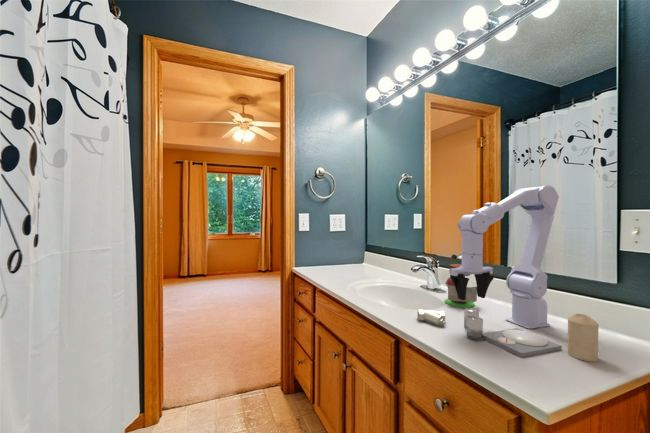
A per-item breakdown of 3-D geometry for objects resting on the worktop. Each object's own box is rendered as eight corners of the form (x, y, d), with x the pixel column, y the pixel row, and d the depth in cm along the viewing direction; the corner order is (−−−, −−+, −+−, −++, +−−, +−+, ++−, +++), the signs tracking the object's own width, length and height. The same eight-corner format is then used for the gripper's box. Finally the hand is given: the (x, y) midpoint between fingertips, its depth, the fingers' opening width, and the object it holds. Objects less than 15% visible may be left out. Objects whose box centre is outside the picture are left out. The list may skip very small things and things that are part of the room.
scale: (516, 331, 84) (516, 326, 84) (561, 349, 73) (561, 344, 73) (480, 337, 80) (480, 332, 80) (521, 357, 68) (521, 351, 68)
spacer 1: (471, 325, 89) (471, 307, 89) (481, 329, 85) (482, 311, 85) (461, 326, 88) (461, 308, 88) (471, 331, 84) (471, 312, 84)
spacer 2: (474, 334, 81) (474, 315, 82) (486, 340, 78) (486, 320, 78) (463, 336, 80) (463, 316, 80) (474, 342, 76) (474, 321, 76)
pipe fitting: (447, 329, 86) (442, 320, 93) (447, 317, 86) (443, 308, 93) (420, 327, 88) (417, 318, 95) (420, 315, 88) (417, 306, 94)
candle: (601, 364, 65) (601, 321, 65) (570, 357, 68) (570, 316, 68) (594, 354, 70) (594, 314, 70) (565, 349, 73) (566, 310, 73)
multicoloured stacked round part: (435, 299, 116) (435, 263, 116) (464, 299, 117) (464, 263, 118) (451, 309, 104) (451, 268, 104) (483, 308, 106) (483, 268, 106)
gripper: (479, 251, 92) (479, 293, 92) (443, 252, 88) (442, 296, 88) (499, 254, 86) (498, 299, 86) (460, 255, 81) (460, 303, 81)
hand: (471, 298), depth 86 cm, fingers open, 7 cm apart
